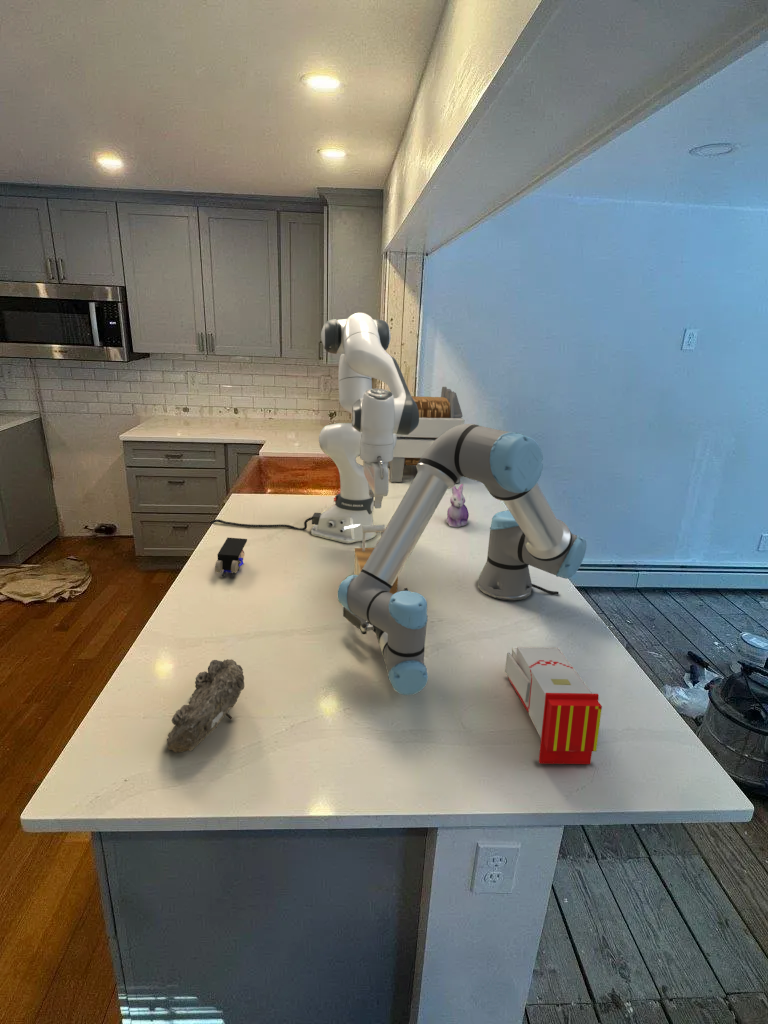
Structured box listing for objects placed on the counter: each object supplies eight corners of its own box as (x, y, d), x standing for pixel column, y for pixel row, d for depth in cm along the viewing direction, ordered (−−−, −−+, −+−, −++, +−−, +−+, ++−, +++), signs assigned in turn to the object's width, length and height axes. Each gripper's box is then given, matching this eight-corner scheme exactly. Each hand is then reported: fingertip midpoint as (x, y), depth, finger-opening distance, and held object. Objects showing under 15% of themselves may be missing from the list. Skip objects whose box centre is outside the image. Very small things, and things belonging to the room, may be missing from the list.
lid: (354, 551, 161) (355, 522, 158) (387, 550, 163) (389, 522, 160) (361, 576, 147) (362, 544, 144) (398, 574, 148) (399, 543, 145)
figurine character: (238, 584, 162) (249, 557, 175) (236, 562, 158) (247, 536, 172) (215, 584, 161) (227, 556, 175) (212, 561, 158) (225, 535, 171)
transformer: (382, 463, 289) (386, 382, 275) (445, 464, 293) (451, 384, 279) (390, 482, 257) (394, 392, 243) (460, 483, 261) (468, 394, 247)
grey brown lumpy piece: (192, 660, 117) (244, 628, 112) (224, 691, 120) (276, 661, 115) (142, 746, 98) (202, 712, 93) (182, 779, 101) (242, 748, 96)
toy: (554, 629, 125) (611, 701, 96) (548, 684, 128) (602, 772, 98) (500, 628, 125) (540, 700, 95) (495, 684, 127) (533, 771, 98)
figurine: (454, 529, 206) (457, 490, 201) (439, 520, 214) (442, 482, 209) (475, 526, 210) (479, 487, 205) (459, 517, 218) (463, 479, 213)
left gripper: (395, 462, 141) (393, 514, 145) (382, 443, 160) (380, 490, 164) (370, 462, 140) (368, 515, 144) (360, 443, 159) (358, 490, 163)
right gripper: (338, 658, 124) (330, 609, 144) (448, 650, 128) (425, 604, 148) (339, 628, 121) (330, 582, 141) (451, 621, 126) (427, 578, 145)
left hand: (374, 501), depth 154 cm, fingers open, 8 cm apart
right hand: (379, 593), depth 145 cm, fingers open, 13 cm apart
